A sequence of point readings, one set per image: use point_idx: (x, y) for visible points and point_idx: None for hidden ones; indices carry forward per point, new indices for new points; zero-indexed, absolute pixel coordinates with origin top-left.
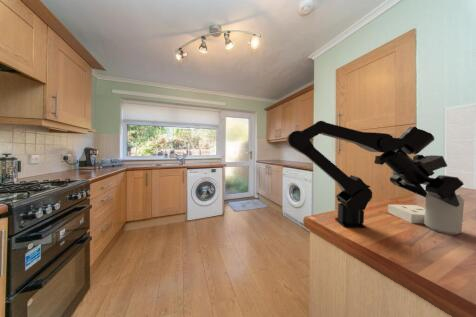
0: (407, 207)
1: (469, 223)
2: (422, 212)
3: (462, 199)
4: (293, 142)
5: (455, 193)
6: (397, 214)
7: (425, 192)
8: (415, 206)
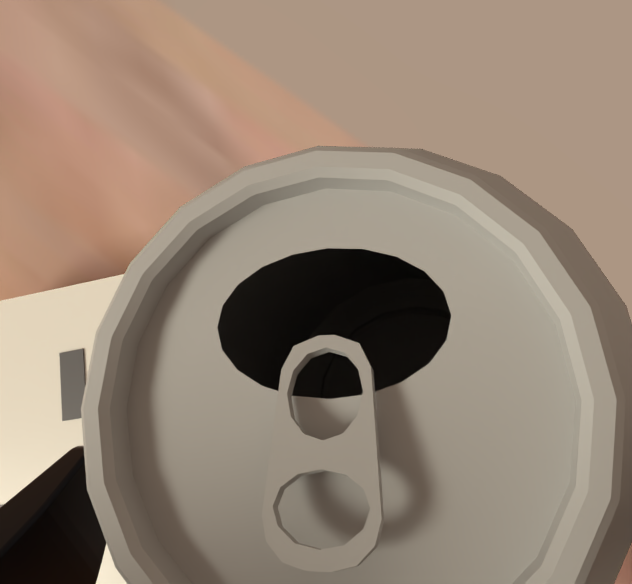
0: (19, 479)
1: (202, 44)
2: None
3: (562, 238)
4: None
5: (322, 181)
6: None
7: (52, 528)
8: None
